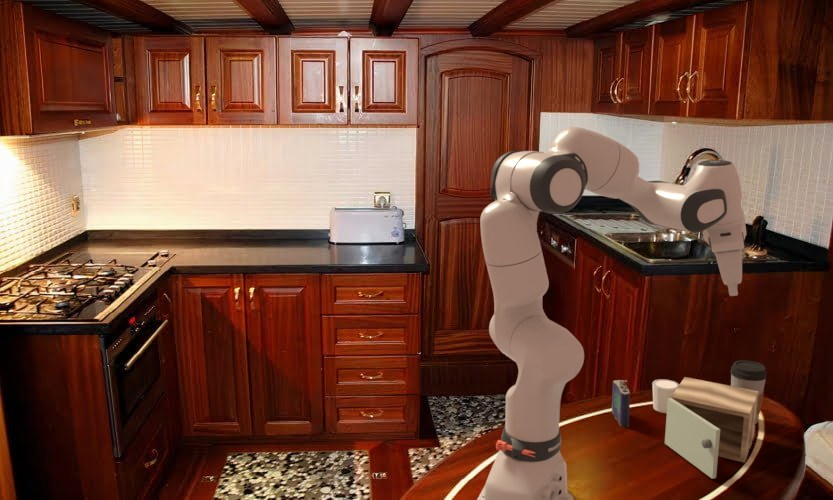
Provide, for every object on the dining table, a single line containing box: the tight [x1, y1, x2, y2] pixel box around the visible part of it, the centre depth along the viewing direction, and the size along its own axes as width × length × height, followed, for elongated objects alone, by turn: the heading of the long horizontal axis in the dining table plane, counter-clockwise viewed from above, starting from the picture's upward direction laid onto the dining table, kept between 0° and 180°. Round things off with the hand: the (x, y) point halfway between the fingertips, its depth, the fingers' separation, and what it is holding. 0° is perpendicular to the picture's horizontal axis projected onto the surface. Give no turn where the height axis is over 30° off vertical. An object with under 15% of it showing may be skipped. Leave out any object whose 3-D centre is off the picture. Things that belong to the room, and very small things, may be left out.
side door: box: [664, 398, 720, 479], centre depth 159 cm, size 2×17×12 cm, turn 17°
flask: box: [611, 379, 631, 428], centre depth 181 cm, size 9×3×11 cm, turn 1°
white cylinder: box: [651, 378, 680, 414], centre depth 187 cm, size 7×7×7 cm
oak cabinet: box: [671, 376, 759, 463], centre depth 169 cm, size 14×17×12 cm
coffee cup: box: [729, 359, 768, 424], centre depth 179 cm, size 8×8×15 cm
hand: (731, 285), depth 161 cm, fingers open, 8 cm apart
